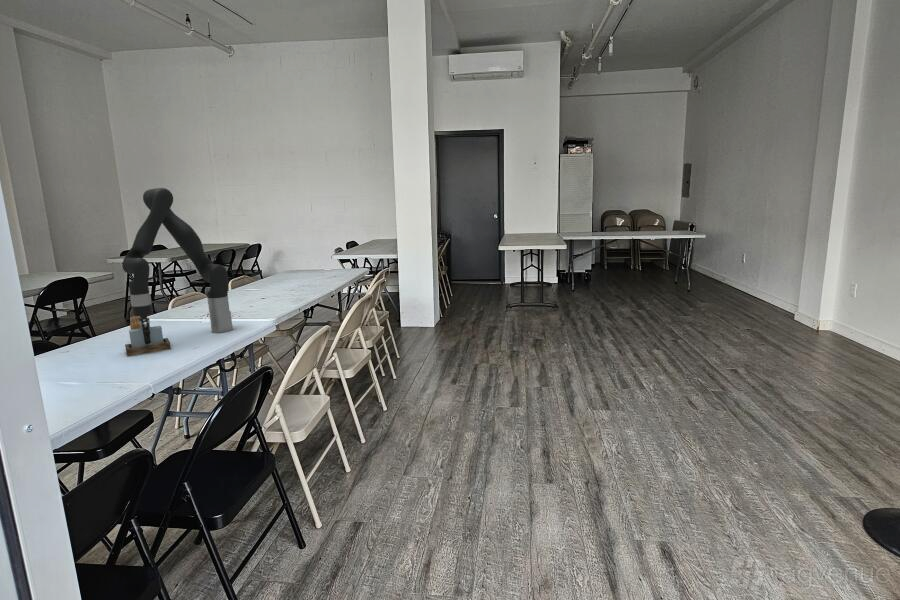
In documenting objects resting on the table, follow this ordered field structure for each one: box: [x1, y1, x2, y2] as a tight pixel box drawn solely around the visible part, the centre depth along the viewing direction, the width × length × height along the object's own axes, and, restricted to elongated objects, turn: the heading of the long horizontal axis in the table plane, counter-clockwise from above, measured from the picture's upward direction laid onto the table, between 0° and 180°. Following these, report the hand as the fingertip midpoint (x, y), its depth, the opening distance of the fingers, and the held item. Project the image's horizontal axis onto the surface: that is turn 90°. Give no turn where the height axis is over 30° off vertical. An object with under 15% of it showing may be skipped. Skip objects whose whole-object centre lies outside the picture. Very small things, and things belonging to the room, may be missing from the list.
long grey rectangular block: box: [128, 325, 164, 348], centre depth 221 cm, size 12×4×7 cm, turn 125°
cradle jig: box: [124, 337, 172, 357], centre depth 222 cm, size 16×9×3 cm, turn 125°
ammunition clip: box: [129, 315, 140, 330], centre depth 241 cm, size 11×2×12 cm, turn 174°
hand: (147, 342), depth 221 cm, fingers closed on long grey rectangular block, 3 cm apart
